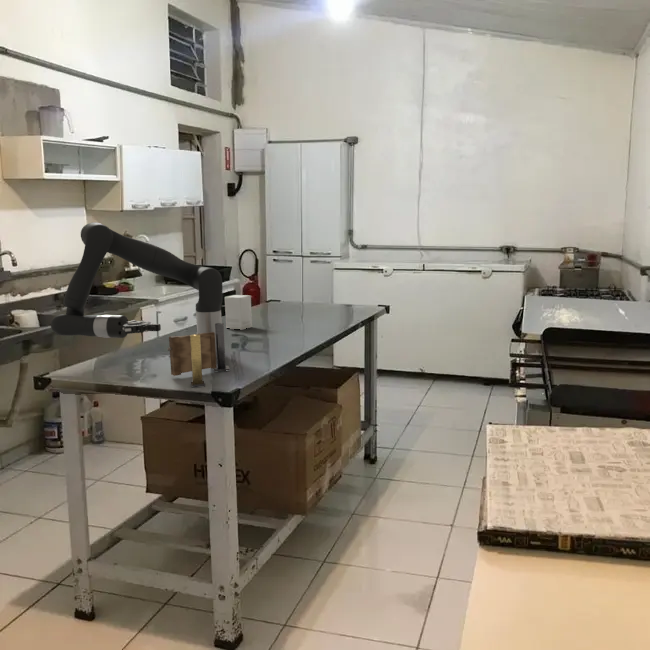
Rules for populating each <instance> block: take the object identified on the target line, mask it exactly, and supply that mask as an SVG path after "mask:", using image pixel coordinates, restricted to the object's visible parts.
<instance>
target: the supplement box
mask: <svg viewBox="0 0 650 650" xmlns="http://www.w3.org/2000/svg"><path fill="white" fill-rule="evenodd" d="M224 310H225V327H226V328H230V329H229V330H234V329H240V330H239V331H243V330H247V329H250V328H253V316H252V295H248V294H247V295H246V294H245V295H243V294H232V295H227V296H224ZM226 328H225V329H226ZM246 328H247V329H246Z"/></svg>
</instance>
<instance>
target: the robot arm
mask: <svg viewBox="0 0 650 650" xmlns="http://www.w3.org/2000/svg"><path fill="white" fill-rule="evenodd" d="M80 238H81V241H82V243H83V244H84V249H83V255H82V258H81V260H80V262H79V265H78V266H77V268H76V270H75V272H74V273H73V274H72V277H71V279H70V281H69V284H68V286H67V289H66V293H65V295H64V297H63V301H62V302H63V305H64V306H65V307H66V312H65V314H63V313H62V314H58V315H56V316H54V317H53V318H52V319H51V322H50V329H51V330H52V332H53V333H55V334H56V335H58V336H68V337H69V336H71V337H72V336H86V337H97V338H98V337H100V338H105V339H106V338H110V339H111V338H113V339H123V338H124V339H125V338H126V337H127V335H128V334H129V335H131V334H142V333H147V332H160V331H161V330H162V329H161V324H160V323H152V322H151V321H147V320H135V319H133V320H132V319H131V320H130V321H129V320H128V317H127V316H126V315H119V314H118V315H117V314H102V315H92V314H91V315H85V306H86V303H87V301H88V299H89V296H90V292H91V289H92V286H93V283H94V281H95V278H96V276H97V273H98V270H99V268H100V267H101V265H102V262H103V261H104V259H105V257H106V255H107V253H109V254H112V255H115V256H117V257H119V258H121V259H123V260H125V261H126V262H128V263H130V264H132V265H134V266H136V267H138V268H140V269H142V270H145V271H147V272H150V273H153V274H156V275H158V276H162V277H165V278H170V279H174V280H177V281H178V282H182V283H184V284H185V285H188V286H190V287H191V288H193V289H195V290H197V291H198V300H197V302H196V303H195V319H196V320H195V321H196V334H199V333H206V332H214V333H215V324H216V323H223V322H222V304H223V300H224V299H223V298H224V297H223V296H224V295H223V277H222V274H221V273H220V272H219V271H218V269H216V268H213V267H206V266H201V265H197V264H194V263H191V262H187V261H184V260H183V259H181V258H180V257H178V256H176V255H175V254H173V253H171V252H170V251H168V250H166V249H165V248H161V247H160V246H157V245H154V244H152V243H148V242H146V241H142V240H139V239H136V238H132V237H129V236H125V235H123V234H121V233H118V232H117V231H115V230H113V229H111V228H109V226H107V225H105V224H103V223H100V222H93V221H92V222H89V223H87V224H85V225H84V226H83V227H82V228H81V230H80ZM215 347H216V339H215Z"/></svg>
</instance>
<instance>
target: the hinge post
mask: <svg viewBox="0 0 650 650" xmlns="http://www.w3.org/2000/svg"><path fill="white" fill-rule="evenodd" d="M215 339H216V367H217V368H214V370H213V372H214V371H224V372H227V371H226V370H230V371H231V369H230V366H229V365H227V364H226V345H225V344H226V343H225V342H226V341H225V325H224V322H222V323H216V324H215Z"/></svg>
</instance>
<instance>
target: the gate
mask: <svg viewBox="0 0 650 650" xmlns="http://www.w3.org/2000/svg"><path fill="white" fill-rule="evenodd" d="M193 334H194V333H192V334H187V335H180V336H177V335H171V336H169V337H168V342H169V343H168V344H169V347H167V351H169V359H170V374H171V375H172V376H173V377H175V376H181V375H182V374H184V373H185V374H186V373H189V372H191V373H192V359H191V341H190V335H193ZM199 334H200V343H201V362H202V370H206V369H207V370H208V369H212V370H213V369H214V368H217V367H216V366H217V359H216V347H215V333H214V332H206V333H199Z"/></svg>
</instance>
